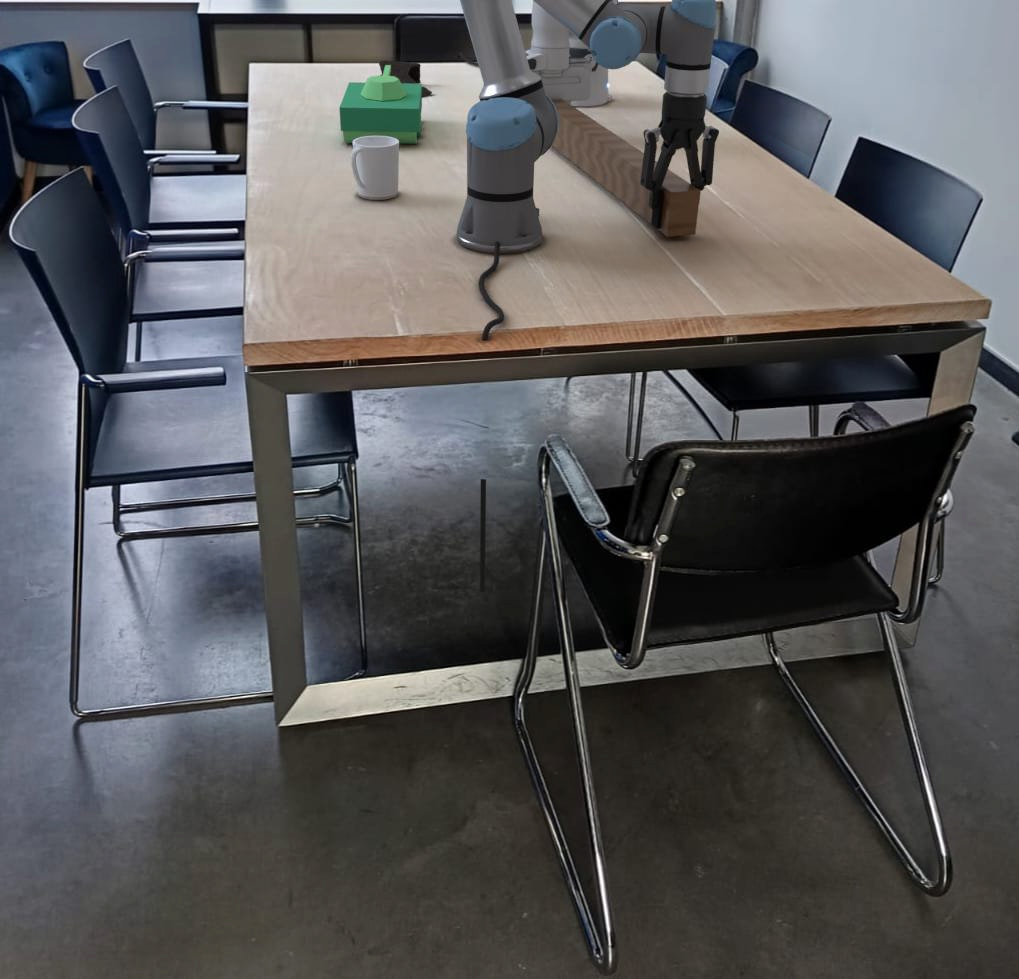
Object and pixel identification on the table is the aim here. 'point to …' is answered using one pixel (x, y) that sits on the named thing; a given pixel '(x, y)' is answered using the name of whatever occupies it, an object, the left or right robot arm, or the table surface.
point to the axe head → (405, 72)
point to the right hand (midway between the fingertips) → (547, 121)
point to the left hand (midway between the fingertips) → (671, 224)
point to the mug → (376, 166)
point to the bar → (623, 170)
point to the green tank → (382, 109)
